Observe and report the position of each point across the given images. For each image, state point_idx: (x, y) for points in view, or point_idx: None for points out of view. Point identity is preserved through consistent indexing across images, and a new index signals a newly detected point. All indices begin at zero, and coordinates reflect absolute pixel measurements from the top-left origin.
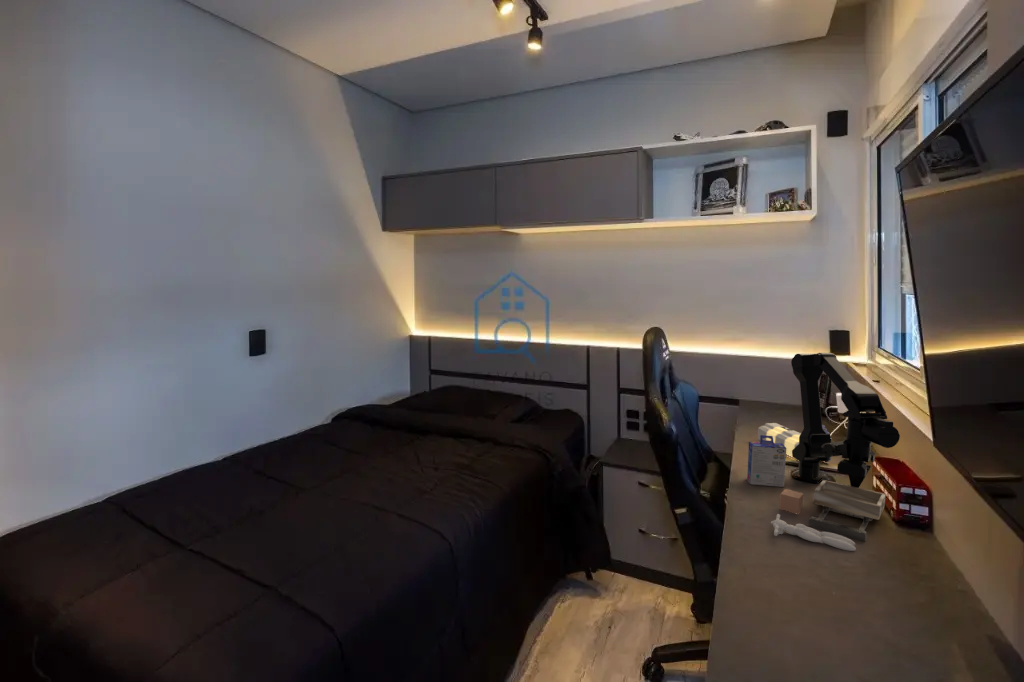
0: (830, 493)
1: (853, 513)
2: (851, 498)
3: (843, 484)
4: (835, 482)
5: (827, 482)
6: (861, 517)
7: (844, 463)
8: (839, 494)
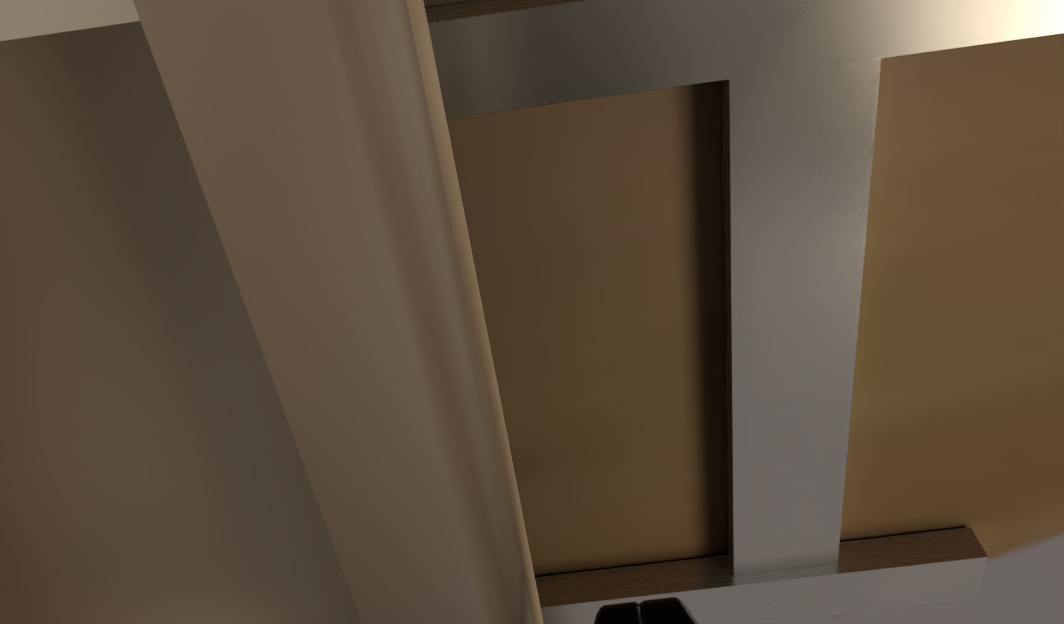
0: (69, 188)
1: None
2: (268, 602)
3: (462, 619)
4: (408, 401)
5: (189, 88)
6: None
7: None
8: (266, 375)
